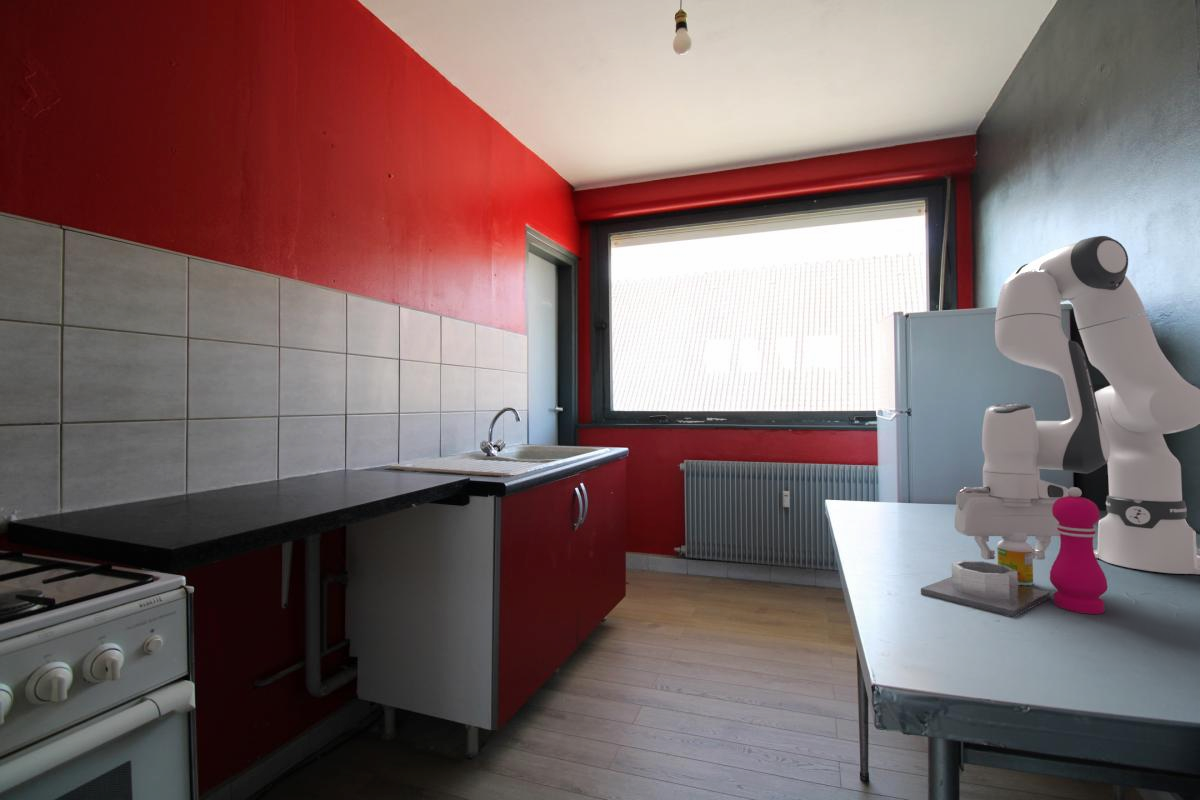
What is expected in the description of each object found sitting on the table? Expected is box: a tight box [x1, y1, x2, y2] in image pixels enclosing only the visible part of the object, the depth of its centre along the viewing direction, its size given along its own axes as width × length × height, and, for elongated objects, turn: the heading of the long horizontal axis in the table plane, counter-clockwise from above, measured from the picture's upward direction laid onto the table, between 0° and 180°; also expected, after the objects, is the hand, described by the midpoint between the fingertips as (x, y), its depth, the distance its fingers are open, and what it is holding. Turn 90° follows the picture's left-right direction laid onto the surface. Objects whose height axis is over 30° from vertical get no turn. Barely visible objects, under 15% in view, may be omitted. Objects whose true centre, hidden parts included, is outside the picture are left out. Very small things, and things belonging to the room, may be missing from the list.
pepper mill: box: [1049, 486, 1108, 615], centre depth 90 cm, size 7×7×20 cm
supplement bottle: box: [996, 533, 1034, 586], centre depth 104 cm, size 5×5×10 cm
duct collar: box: [920, 560, 1051, 618], centre depth 96 cm, size 16×14×5 cm
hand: (1012, 558), depth 105 cm, fingers open, 8 cm apart
